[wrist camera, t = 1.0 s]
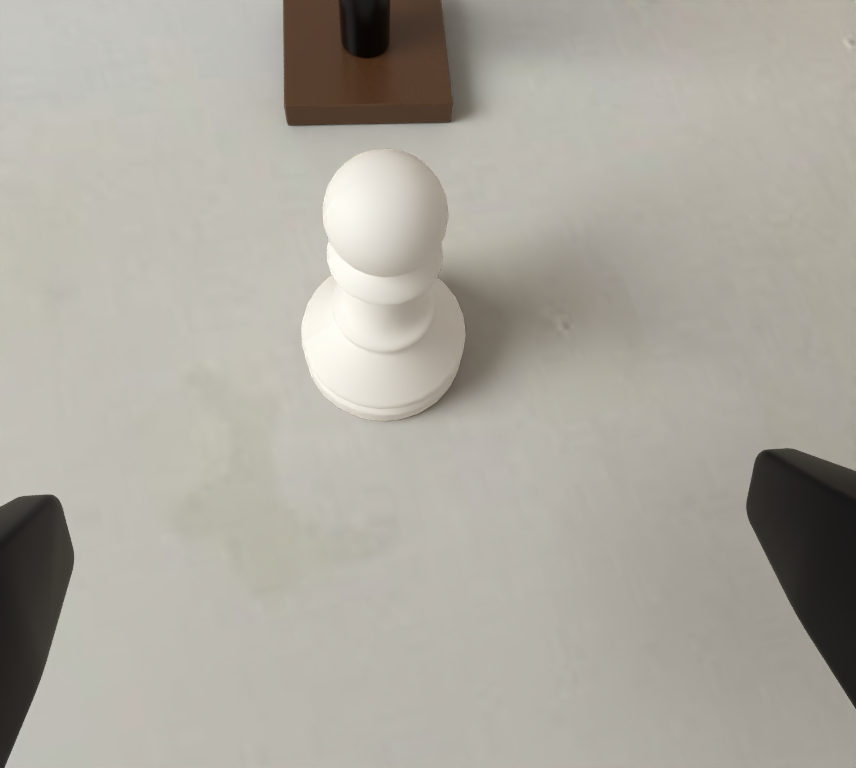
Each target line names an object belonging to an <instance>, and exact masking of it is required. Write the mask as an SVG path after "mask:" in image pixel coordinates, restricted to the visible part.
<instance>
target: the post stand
mask: <svg viewBox="0 0 856 768" xmlns="http://www.w3.org/2000/svg"><path fill="white" fill-rule="evenodd" d="M283 35H284V108H285V114H286V120H287V123H288V125H318V124H372V123H427V122H450V120H451V112H452V105H453V103H452V94H451V85H450V76H449V67H448V58H447V49H446V40H445V31H444V22H443V13H442V4H441V0H283Z"/></svg>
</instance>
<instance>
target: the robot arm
mask: <svg viewBox="0 0 856 768" xmlns="http://www.w3.org/2000/svg"><path fill="white" fill-rule="evenodd" d="M746 509H747V515H748V519H749V521H750V524H751V526H752V528H753V530H754V532H755V534H756V536H757V538H758V540H759V542H760V544H761V546H762V548H763V550H764V552H765V554H766V556H767V558H768V560H769V562H770V564H771V566H772V568H773V570H774V572H775V574H776V576H777V578H778V580H779V582H780V584H781V586H782V588H783V590H784V592H785V594H786V596H787V598H788V600H789V602H790V604H791V605H792V607H793V609H794V611H795V613H796V615H797V617H798V618H799V620H800V622H801V623H802V625H803V627H804V628H805V630H806V631H807V633H808V635H809V636H810V638H811V639H812V641H813V643H814V644H815V646H816V647H817V649H818V650H819V652H820V654H821V655H822V657H823V658H824V660H825V661H826V663H827V665H828V666H829V668H830V669H831V671H832V672H833V674H834V676H835V677H836V679H837V680H838V682H839V683H840V685H841V687H842V688H843V690H844V691H845V693H846V694H847V696H848V698H849V699H850V701H851V702H852V704H853V705H854V707H855V708H856V471H854V470H851V469H848V468H845V467H843V466H840V465H837V464H834V463H831V462H829V461H826V460H823V459H820V458H818V457H815V456H812V455H809V454H806V453H804V452H801V451H798V450H795V449H789V448H785V449H770V450H763V451H762V452H760V453H759V454H758V456H757V457H756V460H755V463H754V468H753V473H752V478H751V483H750V488H749V492H748V497H747V504H746ZM73 565H74V550H73V546H72V542H71V538H70V534H69V531H68V527H67V523H66V519H65V516H64V512H63V508H62V505H61V503H60V501H59V499H58V498H57V497H55V496H54V495H32V496H22V497H18V498H16V499H14V500H12V501H10V502H8V503H7V504H5V505H3V506H1V507H0V768H4V767H5V765H6V763H7V760H8V758H9V755H10V753H11V751H12V748H13V746H14V743H15V741H16V739H17V736H18V734H19V731H20V729H21V727H22V724H23V722H24V719H25V717H26V715H27V712H28V710H29V707H30V705H31V703H32V700H33V698H34V695H35V693H36V690H37V687H38V685H39V682H40V680H41V677H42V674H43V671H44V667H45V664H46V661H47V658H48V654H49V651H50V647H51V644H52V640H53V637H54V633H55V630H56V626H57V623H58V619H59V616H60V612H61V609H62V605H63V602H64V598H65V595H66V591H67V588H68V584H69V581H70V577H71V574H72V570H73Z"/></svg>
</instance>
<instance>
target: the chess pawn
mask: <svg viewBox="0 0 856 768" xmlns="http://www.w3.org/2000/svg"><path fill="white" fill-rule="evenodd" d="M447 222H448V207H447V199H446V195H445V192H444V190H443V188H442V185H441V183H440V181H439V179H438V178H437V176H436V175H435V174H434V173H433V171H432V170H431V169H430V168H429V167H428V166H427V165H426V164H425V163H423V162H422V161H421V160H419V159H418V158H417V157H415V156H413V155H410V154H408V153H406V152H403V151H399V150H393V149H375V150H371V151H367V152H363V153H361V154H359V155H357V156H355V157H353V158H351V159H349V160H348V161H347V162H346V163H345V164H344V165H343V166H342V167H340V168H339V169H338V170H337V172H336V173H335V175H334V177H333V178H332V180H331V181H330V183H329V185H328V187H327V190H326V194H325V198H324V202H323V223H324V228H325V231H326V233H327V236H328V239H329V243H328V247H327V263H328V266H329V268H330V271H331V274H332V275H331V276H330V277H329V278H327V279H326V280H325V281H324V282H323V283H322V284H321V285H320V286H319V287H318V288H317V289H316V291H315V293H314V294H313V296H312V298H311V299H310V301H309V303H308V304H307V307H306V310H305V314H304V318H303V322H302V346H303V349H304V352H305V358H306V361H307V364H308V367H309V370H310V373H311V376H312V379H313V381H314V382H315V384H316V385H317V386H318V388H319V389H320V391H321V392H322V394H323V395H324V396H325V397H326V398H327V399H329V400H330V401H331V402H332V403H333V404H335V405H336V406H337V407H338V408H339V409H342V410H344V411H346V412H348V413H350V414H352V415H354V416H357V417H359V418H365V419H370V420H376V421H388V420H400V419H403V418H406V417H410V416H413V415H416V414H419V413H421V412H422V411H424V410H425V409H427V408H428V407H430V406H431V405H433V404H435V403H436V402H437V401H438V400H439V399H440V398H441V397H442V396H443V394H444V393H445V392H446V391H447V390H448V389H449V388H450V386H451V384H452V382H453V380H454V378H455V376H456V374H457V372H458V369H459V366H460V360H461V358H462V355H463V350H464V344H465V338H466V333H465V324H464V316H463V314H462V311H461V309H460V307H459V304H458V302H457V299H456V297H455V296H454V295H453V294H452V292H451V291H450V290H449V289H448V287H447V286H446V285H445V283H444V282H443V281H441V280H440V279H439V278H437V276H438V274H439V273H440V271H441V266H442V261H443V251H442V243H441V242H442V240H443V238H444V236H445V232H446V227H447Z"/></svg>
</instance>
